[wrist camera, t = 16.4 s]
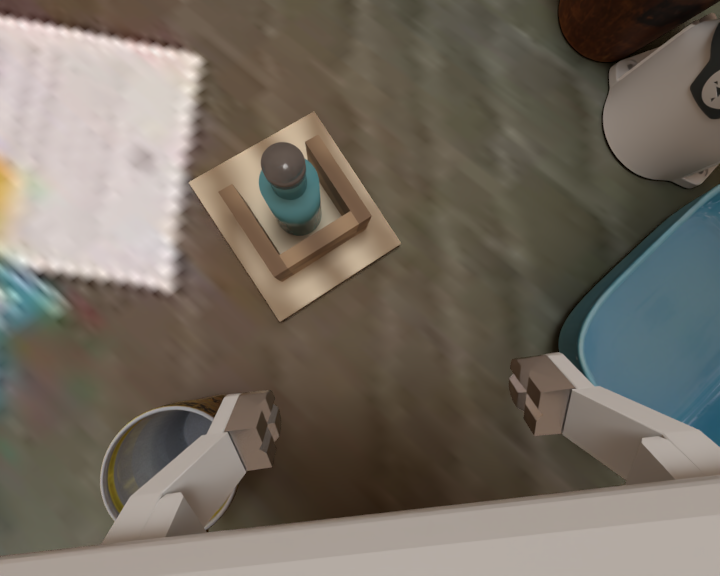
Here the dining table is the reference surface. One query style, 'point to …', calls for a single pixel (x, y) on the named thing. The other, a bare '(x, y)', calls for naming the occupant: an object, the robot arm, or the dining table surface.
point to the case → (622, 24)
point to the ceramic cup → (155, 449)
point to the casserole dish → (659, 321)
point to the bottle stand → (290, 252)
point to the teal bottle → (290, 188)
